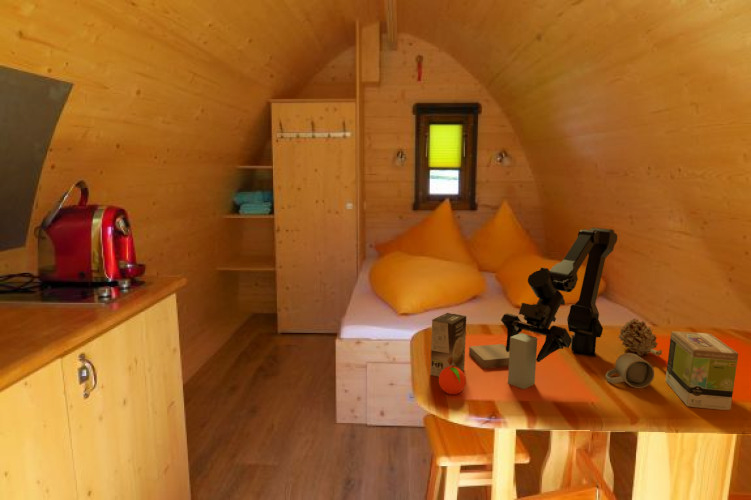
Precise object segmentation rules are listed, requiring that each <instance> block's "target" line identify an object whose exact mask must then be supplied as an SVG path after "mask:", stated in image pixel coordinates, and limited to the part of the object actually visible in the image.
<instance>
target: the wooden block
mask: <svg viewBox="0 0 751 500" xmlns="http://www.w3.org/2000/svg"><path fill="white" fill-rule="evenodd" d="M537 348H538V337H536V336H533V335H530V334H526V333H522V332H520V333H519V334H517V335H514V336H512V337H510V350H509V366H508V372H507V373H508V375H507V376H508V377H507V384H509V385H511V386H514V387H517V388H518V389H519V388H520V389H521V390H526V389H528V388H530V387H531V386H534V385H536V384H535V383H536V366H537V361H536V359H537V350H538V349H537Z"/></svg>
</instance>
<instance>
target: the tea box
mask: <svg viewBox="0 0 751 500" xmlns="http://www.w3.org/2000/svg"><path fill="white" fill-rule="evenodd" d="M669 338H670V339H669V348H668V355H667V356H668V357H667V364H666V365H667V366H666V373H665V382H666V384H667V385H669V387H670V388H671V389H672V391H673V392H674V393H675V394H676V396H678V397H679V398H680V400H681V401H682V402H683V403H684V404H685V406H687V407H690V408H691V407H692V408H701V409H711V410H720V411H721V410H722V411H730V410H731V408H732V401H733V393H734V388H735V382H736V381H735V380H736V375H737V374H736V373H737V366H738V360H739V352H737V351H736V350H734V349H733V348H732V347H730V346H728V345H727V344H726V343H725V342H723V341H722V340H721V339H719V338H717V337H716V336H714V335H713V334H712V333H706V332H694V331H693V332H691V331H676V330H672V331H671V332H670V337H669Z"/></svg>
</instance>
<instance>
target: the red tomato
mask: <svg viewBox="0 0 751 500" xmlns="http://www.w3.org/2000/svg"><path fill="white" fill-rule="evenodd" d="M466 383H467V380H466V375H465V373H464V371H462V370H460V369H459V368H457V367H454V366H449V367H447V368H445V369H443V370H442V371H441V373H440V375H439V377H438V384H439V386H440V389H442V390H443V392H445V393H447V394H449V395H457V394H459V393H461V392H462V391H463V390H464V389H465V387H466Z"/></svg>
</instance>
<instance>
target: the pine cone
mask: <svg viewBox="0 0 751 500" xmlns="http://www.w3.org/2000/svg"><path fill="white" fill-rule="evenodd" d="M618 331H619V332H620V334H619V335H618V338H619V341H621V342H622V343H621V344H622V346H624V348H629V351H631V352H632V353H635V352H636V355H638V356H639V357H642V356H644V355H645V354H646V355H650V353H651V354H652V355H655V356H657V357H659V356H661V355H662V354H663V350H661V349H659V350H656V348H657V346H658V345H659V343H658V342H656V341H657V336H656V334H655V333H653V329H652V328H651V327H650V326H648V324H646V322H645V321H641V322H640V320H639V319H636V318H633V319H631V320H629V322H628V321H627V322H625V324H624V326H623V325H622V326H620V329H619V330H618Z"/></svg>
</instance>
